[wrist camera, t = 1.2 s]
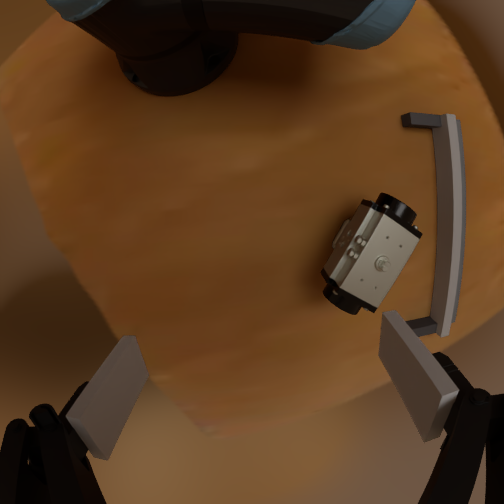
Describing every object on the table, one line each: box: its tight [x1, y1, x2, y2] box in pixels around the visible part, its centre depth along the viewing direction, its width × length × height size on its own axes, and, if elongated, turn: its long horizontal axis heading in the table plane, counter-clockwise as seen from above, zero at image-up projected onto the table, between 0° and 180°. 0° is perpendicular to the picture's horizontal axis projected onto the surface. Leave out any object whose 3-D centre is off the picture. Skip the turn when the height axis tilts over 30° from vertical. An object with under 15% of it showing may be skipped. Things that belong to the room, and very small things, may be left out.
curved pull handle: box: [401, 112, 466, 337], centre depth 33 cm, size 30×10×4 cm, turn 6°
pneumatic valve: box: [320, 193, 422, 315], centre depth 30 cm, size 6×12×12 cm, turn 152°
